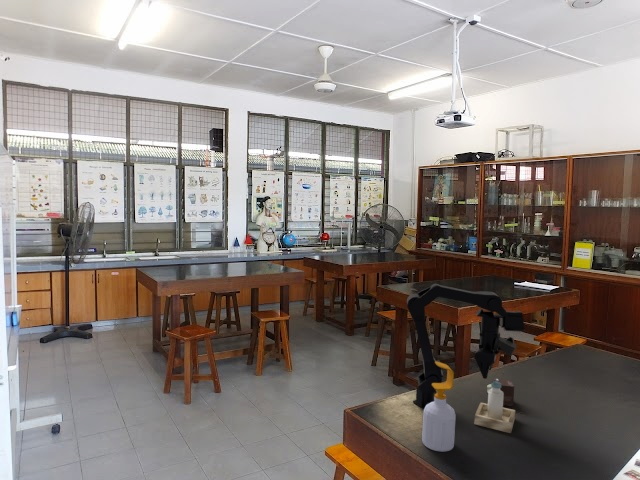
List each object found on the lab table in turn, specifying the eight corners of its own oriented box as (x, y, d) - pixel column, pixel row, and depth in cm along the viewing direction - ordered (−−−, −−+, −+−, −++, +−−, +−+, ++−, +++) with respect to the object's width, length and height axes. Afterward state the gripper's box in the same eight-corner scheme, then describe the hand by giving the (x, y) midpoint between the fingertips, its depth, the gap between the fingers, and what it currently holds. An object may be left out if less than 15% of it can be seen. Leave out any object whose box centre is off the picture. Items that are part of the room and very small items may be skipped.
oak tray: (474, 424, 146) (474, 415, 145) (480, 410, 155) (480, 402, 155) (510, 433, 140) (511, 424, 140) (514, 418, 150) (515, 410, 150)
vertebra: (495, 400, 164) (495, 389, 165) (482, 394, 171) (481, 384, 171) (509, 396, 167) (508, 386, 167) (495, 391, 173) (495, 381, 173)
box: (513, 406, 159) (514, 386, 159) (495, 404, 161) (496, 384, 160) (510, 399, 165) (511, 380, 165) (492, 397, 166) (493, 378, 166)
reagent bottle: (495, 423, 145) (497, 387, 143) (484, 416, 149) (485, 382, 147) (505, 419, 147) (507, 384, 145) (494, 413, 151) (495, 379, 149)
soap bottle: (418, 436, 137) (422, 357, 135) (447, 435, 138) (451, 357, 136) (427, 452, 128) (431, 369, 126) (458, 452, 129) (463, 368, 127)
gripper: (512, 340, 141) (509, 388, 142) (518, 326, 157) (515, 370, 159) (475, 334, 146) (472, 381, 148) (484, 322, 163) (482, 364, 164)
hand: (487, 374), depth 154 cm, fingers open, 9 cm apart
